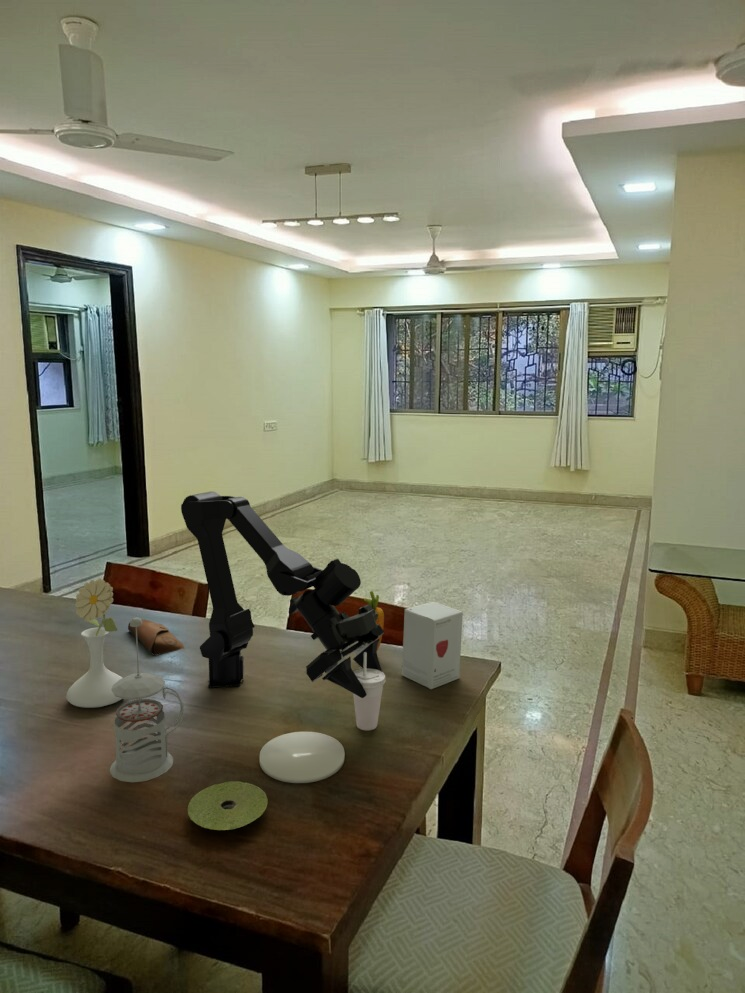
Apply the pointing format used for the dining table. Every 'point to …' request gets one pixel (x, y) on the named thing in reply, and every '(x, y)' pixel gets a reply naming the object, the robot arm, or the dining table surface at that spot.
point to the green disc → (227, 805)
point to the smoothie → (368, 696)
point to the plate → (302, 757)
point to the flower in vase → (95, 648)
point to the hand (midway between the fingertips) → (374, 689)
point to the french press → (141, 726)
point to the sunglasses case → (156, 637)
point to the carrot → (378, 610)
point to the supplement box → (432, 644)
